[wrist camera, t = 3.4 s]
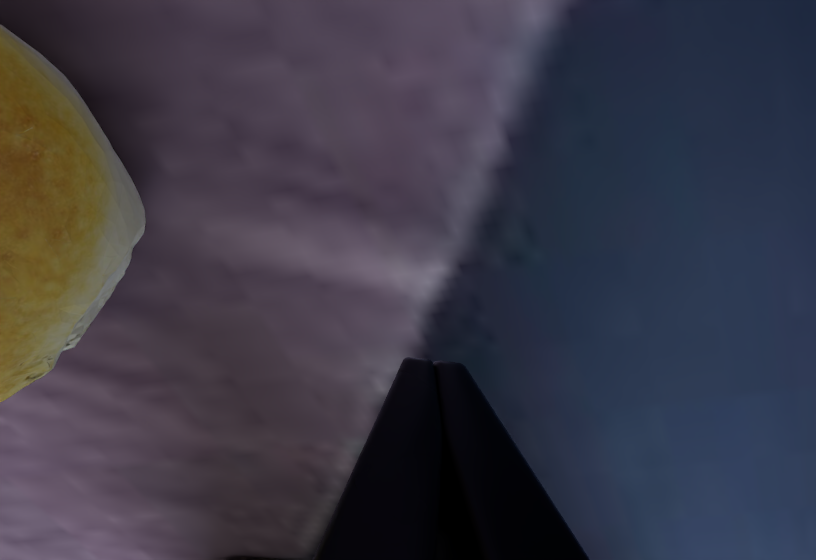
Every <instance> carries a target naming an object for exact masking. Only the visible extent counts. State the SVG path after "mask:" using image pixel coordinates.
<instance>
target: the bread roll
mask: <svg viewBox="0 0 816 560" xmlns="http://www.w3.org/2000/svg"><path fill="white" fill-rule="evenodd" d="M145 224H146V218H145V209H144V206H143V204H142V201H141V198H140V196H139V193H138V191H137V189H136V187H135V185H134V183H133V181H132V179H131V177H130V175H129V174H128V172H127V170H126V169H125V167H124V165H123V163H122V162H121V160H120V158H119V157H118V155H117V154H116V152H115V151H114V150H113V148H112V146H111V144H110V142H109V140H108V138H107V137H106V135H105V134H104V132H103V131H102V129H101V127H100V126H99V124H98V123H97V121H96V119H95V118H94V116H93V115H92V113H91V111H90V110H89V108H88V107H87V105H86V104H85V102H84V101H83V99H82V98H81V96H80V95H79V93H78V92H77V90H76V89H75V88H74V87H73V85H72V84H71V83H70V82H69V80H68V79H67V78H66V77H65V75H64V74H63V73H62V72H60V71H59V70H58V69H57V68H56V67H55V66H54V65H53V64H52V63H50V62H49V61H48V60H47V59H46V58H45V57H44V56H43V55H41V54H40V53H39V52H38V51H36V50H35V49H34V48H32V47H31V46H30V45H28V44H27V43H25V42H24V41H23V40H21V39H20V38H19V37H17V36H16V35H15V34H13V33H12V32H11V31H9V30H8V29H7V28H5V27H4V26H2V25H1V24H0V402H2V401H4V400H6V399H7V398H9V397H11V396H12V395H14V394H15V393H16V392H18V391H19V390H21V389H22V388H24V387H25V386H27V385H29V384H31V383H32V382H34V381H35V380H37V379H40V378H42V377H43V376H44V375H46V374H47V373H48V372H49V371H51V370H52V369H53V368H54V367H55V365H56V363H57V360H58V358H59V356H60V353H61V352H62V351H64V350H67V349H71V348H74V347H75V346H76V345H77V343H78V342H79V341H80V339H81V337H82V335H83V334H84V333H85V332H86V330H87V329H88V327H89V326H91V325H90V323H92V322H93V320H94V319H95V317H96V316H97V315H98V313H99V312H100V310H101V309H102V307H103V306H104V304H105V303H106V301H107V300H109V299H110V297H111V295H112V293H113V291H114V290H115V287H116V285H117V283H118V282H119V281H120V280H121V278H122V277H123V276H124V275H125V270H126V269H127V267H128V266H129V263H130V260H131V258H132V256H131V253H132V251H133V247H134V246H135V245H136V244H137V242H138V241H139V240H140V238H141V237H142V235H143V234H144V230H145Z"/></svg>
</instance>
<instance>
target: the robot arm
mask: <svg viewBox="0 0 816 560" xmlns="http://www.w3.org/2000/svg"><path fill="white" fill-rule="evenodd" d="M313 560H590V559H589V558H588V556H587V555H586V553H585V552H584V550H583V548H582V547H581V545H580V544H579V542H578V541H577V539H576V538H575V536H574V534H573V533H572V531H571V530H570V528H569V527H568V525H567V524H566V522H565V520H564V519H563V517H562V516H561V514H560V513H559V511H558V510H557V508H556V507H555V505H554V503H553V502H552V500H551V499H550V497H549V496H548V494H547V493H546V491H545V489H544V488H543V486H542V485H541V483H540V482H539V480H538V479H537V477H536V475H535V474H534V472H533V471H532V469H531V468H530V466H529V465H528V463H527V461H526V460H525V458H524V457H523V455H522V454H521V452H520V451H519V449H518V448H517V446H516V444H515V443H514V441H513V440H512V438H511V437H510V435H509V434H508V432H507V430H506V429H505V427H504V426H503V424H502V423H501V421H500V420H499V418H498V416H497V415H496V413H495V412H494V410H493V409H492V407H491V406H490V404H489V402H488V401H487V399H486V398H485V396H484V395H483V393H482V392H481V390H480V389H479V387H478V385H477V384H476V382H475V381H474V379H473V378H472V376H471V375H470V373H469V371H468V370H467V368H466V367H465V366H464V365H463V364H461V363H455V362H446V361H436V362H435V363H434V364H433V362H432V361H431V360H429V359H420V358H411V357H407V358H405V359H404V360H403V362H402V364H401V366H400V368H399V370H398V373H397V375H396V377H395V379H394V381H393V384H392V386H391V388H390V390H389V392H388V395H387V397H386V399H385V401H384V403H383V406H382V408H381V410H380V412H379V414H378V417H377V419H376V421H375V423H374V425H373V428H372V430H371V432H370V434H369V436H368V439H367V441H366V443H365V445H364V448H363V450H362V452H361V454H360V456H359V459H358V461H357V463H356V465H355V467H354V470H353V472H352V474H351V476H350V478H349V481H348V483H347V485H346V487H345V489H344V492H343V494H342V496H341V498H340V500H339V503H338V505H337V507H336V509H335V511H334V514H333V516H332V518H331V520H330V522H329V525H328V527H327V529H326V531H325V533H324V536H323V538H322V540H321V542H320V545H319V547H318V549H317V551H316V553H315V556H314V558H313Z"/></svg>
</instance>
